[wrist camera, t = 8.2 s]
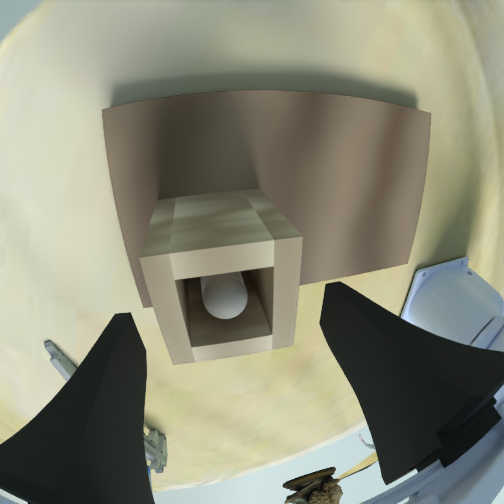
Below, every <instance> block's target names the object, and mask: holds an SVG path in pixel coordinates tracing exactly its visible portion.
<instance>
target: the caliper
mask: <svg viewBox="0 0 504 504" xmlns="http://www.w3.org/2000/svg"><path fill="white" fill-rule="evenodd" d="M44 345H45V349H46V350H47V351H48V353H49V354H50V355H51V359H50V361H51V363H52V364H53V365H54V367H55V368H56V369H57V370H58V371H59V373H60V374H61V375H62V376H63V378H64V379H65V380H66V381H68V380H69V379H70V378H71V376H72V375H73V374H74V372H75V371H76V369H77V368H76V367H75V366H74V365H73V363H72V362H71V361H70V360H69V359H68V358H67V357H66V356H65V355H64V354H63V353H62V352H61V351H58V349H57V348H56V347H55V345H54V344H53V343H52V342H51V341H49V342H47V343H44ZM158 433H159V431H158V430H152V431H150V432H149V434H148V436H146V435H145V433H144V445H145V455H146V459H147V460H151V464H150V469H155V472H156V473H163V467H166V464H167V442H166V437H165V435H159V436H158Z"/></svg>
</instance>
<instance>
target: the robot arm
mask: <svg viewBox="0 0 504 504" xmlns="http://www.w3.org/2000/svg"><path fill="white" fill-rule="evenodd" d="M468 260H469V258H468V257H463V258H459V259H456V260H452V261H449V262H445V263H441V264H438V265H434V266H430V267H427V268H423V269H419V270H418V271H417V272H416V273H415V276H414V280H413V283H412V286H411V289H410V292H409V295H408V298H407V300H406V303H405V306H404V309H403V311H402V314H401V317H398V316H397V315H395V314H393V313H391V312H390V311H388V310H386V309H385V308H383V307H381V306H380V305H378V304H376V303H375V302H373V301H372V300H370V299H368V298H367V297H365V296H364V295H362V294H360V293H359V292H357V291H356V290H354V289H352V288H351V287H349V286H347V285H346V284H344V283H342V282H340V281H338V282H333V283H328V284H326V285H325V292H324V298H323V305H322V311H321V317H320V323H319V324H320V326H321V329H322V331H323V334H324V336H325V339H326V341H327V344H328V346H329V347H330V349H331V351H332V353H333V355H334V356H335V358H336V360H337V362H338V363H339V365H340V367H341V369H342V370H343V372H344V374H345V376H346V377H347V379H348V381H349V383H350V384H351V386H352V388H353V390H354V392H355V394H356V396H357V398H358V401H359V403H360V406H361V408H362V411H363V413H364V416H365V418H366V421H367V424H368V427H369V430H370V432H371V436H372V439H373V442H374V446H375V449H376V453H377V457H378V461H379V465H380V469H381V475H382V478H383V480H384V482H385V484H386V485H388V484H390V483H392V482H394V481H396V480H397V479H399V478H401V477H403V476H404V475H406V474H408V473H410V472H411V471H413V470H415V469H417V471H418V473H417V474H416V475H414V476H412V477H411V478H409V479H407V480H406V481H404V482H402V483H400V484H398V485H397V486H395V487H393V488H391V489H389V490H387V491H385V492H383V493H381V494H379V495H377V496H375V497H373V498H371V499H369V500H367V501H364V502H362V503H360V504H397V503H399V502H401V501H402V500H404V499H405V498H407V497H409V496H410V497H409V500H408V502H406V503H404V504H491V503H492V501H493V500H494V499H495V498H496V496H497V495H498V493H499V492H500V490H501V489H502V488H503V486H504V302H503V299H502V297H501V295H500V294H499V292H498V291H497V290H496V289H494V288H493V287H492V286H491V285H490V284H489V283H487V282H486V281H485V280H484V279H483V278H481V277H480V276H479V275H478V274H477V273H475V272H474V271H473V270H472V269H470V268H469V267H468V266H467V264H468ZM146 379H147V360H146V349H145V347H144V344H143V342H142V340H141V337H140V335H139V332H138V330H137V327H136V325H135V322H134V320H133V317H132V315H131V312H129V313H119V314H115V315H114V316H113V318H112V319H111V321H110V322H109V324H108V325H107V326H106V328H105V329H104V331H103V332H102V334H101V335H100V337H99V338H98V340H97V341H96V343H95V344H94V346H93V347H92V348H91V350H90V351H89V353H88V354H87V356H86V357H85V359H84V360H83V361H82V363H81V364H80V365H79V367H78V368H77V369H76V371H75V372H74V374H73V375H72V376H71V378H70V379H69V380H68V381H67V383H66V384H65V385H64V386H63V388H62V389H61V390H60V391H59V392H58V393H57V395H56V396H55V397H54V398H53V399H52V400H51V401H50V402H49V403H48V404H47V405H46V406H45V407H44V408H43V409H42V410H41V411H40V412H39V413H38V414H37V415H36V416H35V417H34V418H33V419H32V420H31V421H30V422H29V423H28V424H27V425H25V426H24V427H23V428H22V429H21V430H19V431H18V432H17V433H16V434H14V435H13V436H12V437H10V438H9V439H7V440H6V441H5V442H3V443H2V444H0V489H2V490H4V491H6V492H8V493H10V494H12V495H14V496H16V497H18V498H20V499H22V500H24V501H26V502H28V504H155V502H154V499H153V495H152V490H151V485H150V480H149V475H148V469H147V462H146V455H145V445H144V427H143V425H144V406H145V392H146ZM0 504H18V503H16V502H14V501H12V500H10V499H8V498H6V497H4V496H2V495H0Z"/></svg>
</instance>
